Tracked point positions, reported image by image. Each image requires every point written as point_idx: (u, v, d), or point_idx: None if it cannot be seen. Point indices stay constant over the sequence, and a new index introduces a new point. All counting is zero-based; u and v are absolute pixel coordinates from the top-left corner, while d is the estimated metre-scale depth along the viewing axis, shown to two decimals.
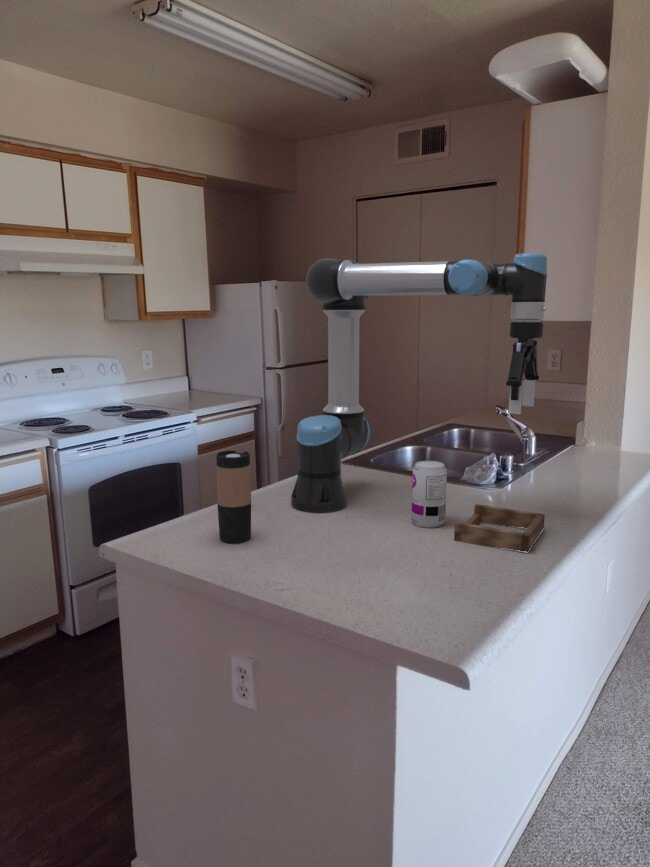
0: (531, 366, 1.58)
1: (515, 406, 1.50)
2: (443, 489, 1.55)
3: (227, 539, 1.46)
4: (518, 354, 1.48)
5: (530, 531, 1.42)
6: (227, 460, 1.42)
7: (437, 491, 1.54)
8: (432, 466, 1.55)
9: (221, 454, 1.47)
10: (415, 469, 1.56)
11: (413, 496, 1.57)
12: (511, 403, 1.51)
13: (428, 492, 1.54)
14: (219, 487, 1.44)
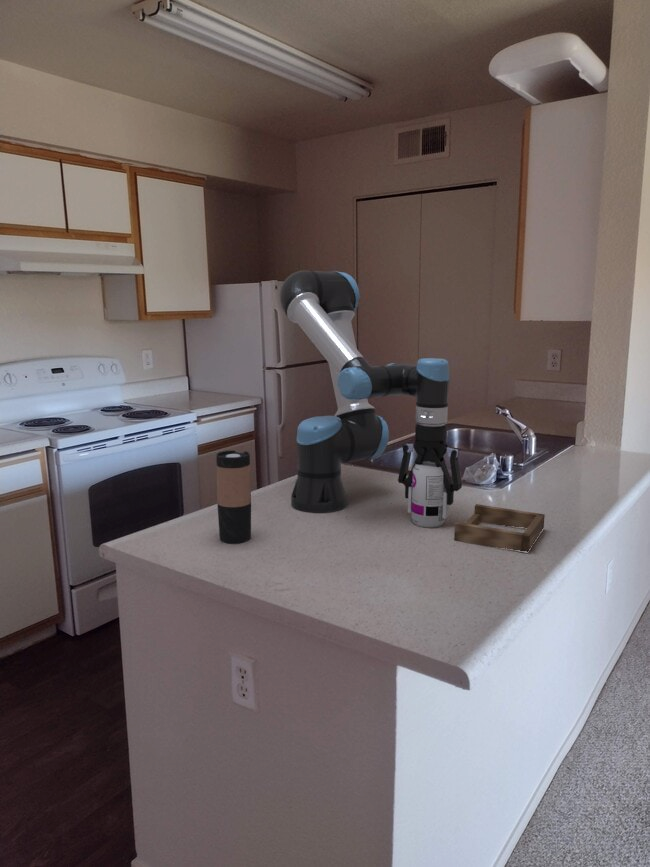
0: None
1: None
2: (443, 489, 1.55)
3: (227, 539, 1.46)
4: None
5: (530, 531, 1.42)
6: (227, 460, 1.42)
7: (438, 491, 1.54)
8: (432, 466, 1.55)
9: (221, 454, 1.47)
10: (415, 469, 1.56)
11: (413, 496, 1.57)
12: None
13: (428, 492, 1.54)
14: (219, 487, 1.44)
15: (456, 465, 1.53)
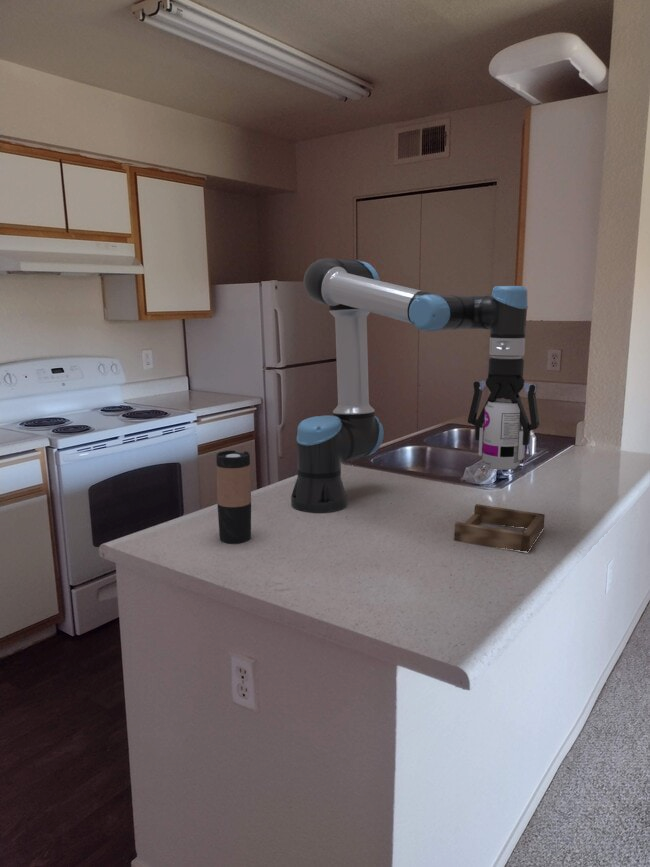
0: None
1: None
2: (519, 428, 1.44)
3: (227, 539, 1.46)
4: None
5: (530, 531, 1.42)
6: (227, 460, 1.42)
7: (514, 430, 1.43)
8: (507, 403, 1.44)
9: (221, 454, 1.47)
10: (488, 406, 1.44)
11: (486, 436, 1.46)
12: None
13: (504, 430, 1.43)
14: (219, 487, 1.44)
15: (534, 401, 1.42)
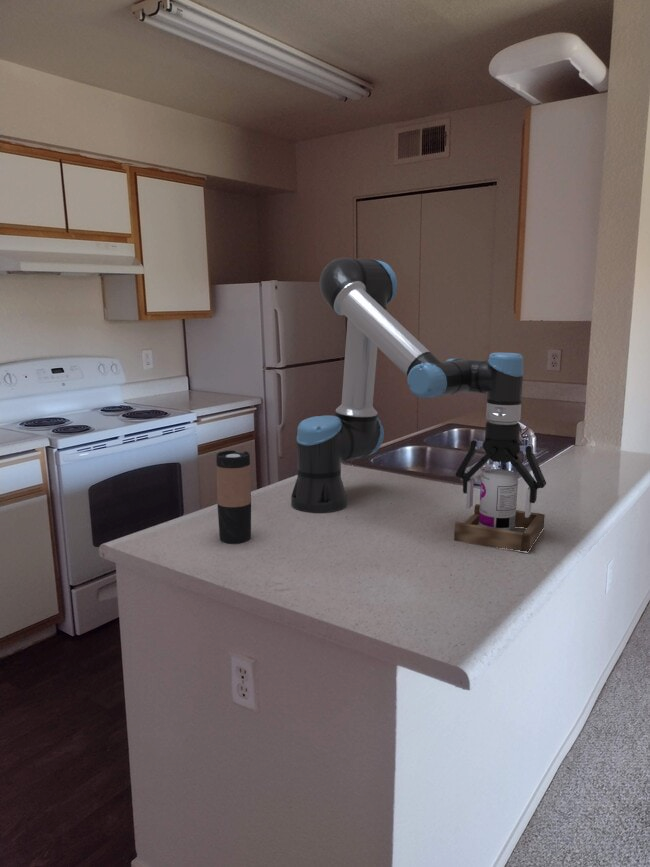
0: None
1: None
2: (514, 499, 1.47)
3: (227, 539, 1.46)
4: None
5: (530, 531, 1.42)
6: (227, 460, 1.42)
7: (509, 502, 1.46)
8: (503, 475, 1.47)
9: (221, 454, 1.47)
10: (484, 478, 1.48)
11: (482, 507, 1.49)
12: None
13: (499, 502, 1.46)
14: (219, 487, 1.44)
15: (534, 461, 1.44)
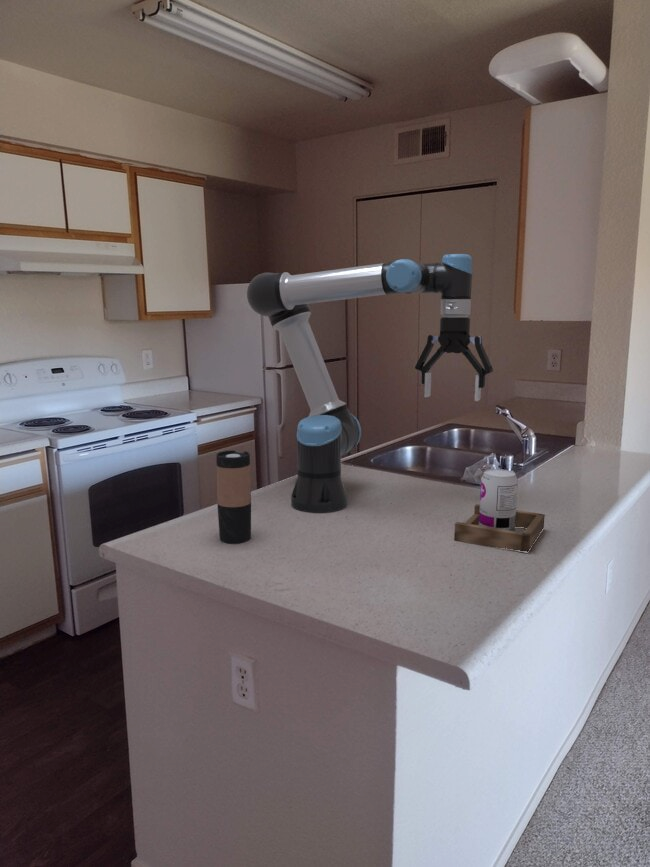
0: None
1: None
2: (514, 499, 1.47)
3: (227, 539, 1.46)
4: None
5: (530, 531, 1.42)
6: (227, 460, 1.42)
7: (509, 502, 1.46)
8: (503, 475, 1.47)
9: (221, 454, 1.47)
10: (484, 478, 1.48)
11: (482, 507, 1.49)
12: None
13: (499, 502, 1.46)
14: (219, 487, 1.44)
15: (482, 350, 1.63)
